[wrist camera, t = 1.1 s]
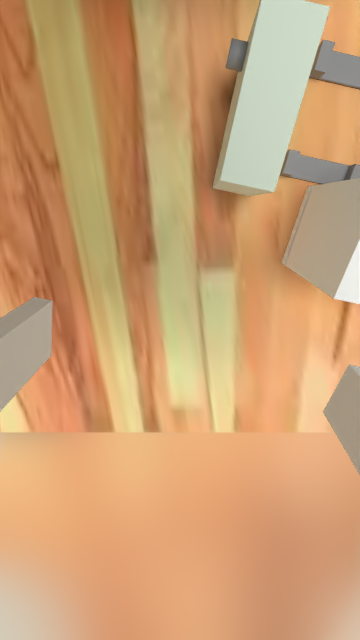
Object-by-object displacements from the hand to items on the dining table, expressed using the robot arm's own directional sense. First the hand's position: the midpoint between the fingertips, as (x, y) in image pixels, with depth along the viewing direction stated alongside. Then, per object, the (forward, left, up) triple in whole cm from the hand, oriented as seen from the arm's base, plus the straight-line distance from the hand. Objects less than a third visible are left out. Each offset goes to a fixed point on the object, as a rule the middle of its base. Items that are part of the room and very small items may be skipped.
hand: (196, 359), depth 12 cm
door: (-13, +2, -22) cm, 25 cm away
